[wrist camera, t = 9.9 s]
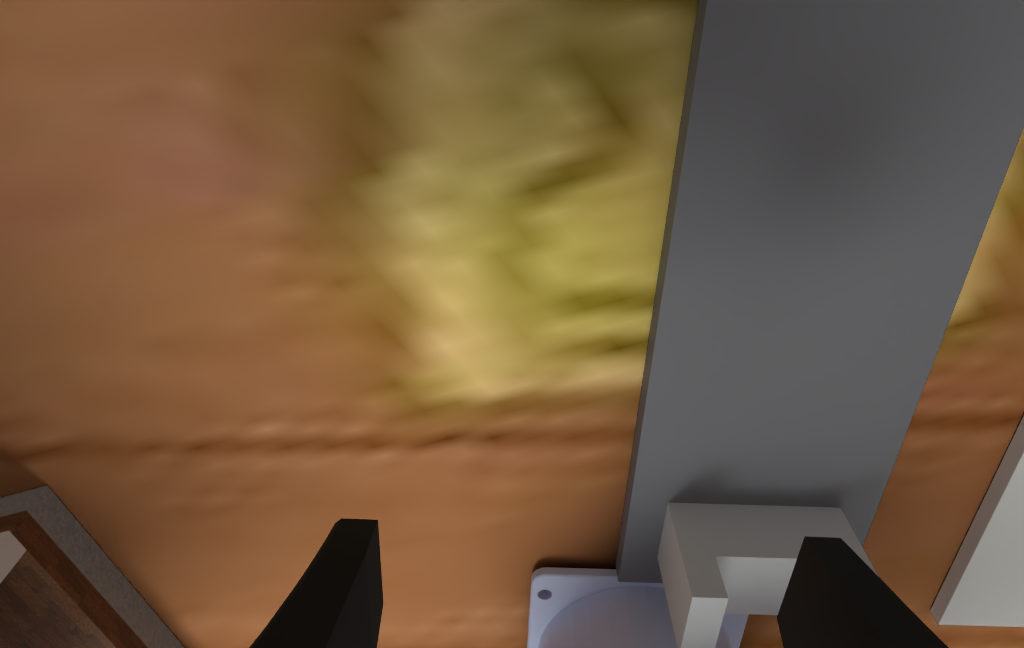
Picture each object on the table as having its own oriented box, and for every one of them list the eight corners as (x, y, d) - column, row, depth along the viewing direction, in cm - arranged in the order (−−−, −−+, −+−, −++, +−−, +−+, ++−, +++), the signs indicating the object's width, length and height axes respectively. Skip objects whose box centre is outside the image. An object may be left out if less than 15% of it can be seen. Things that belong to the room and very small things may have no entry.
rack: (837, 570, 25) (895, 687, 21) (615, 564, 25) (633, 680, 21) (1159, -301, 14) (1417, -394, 10) (745, -318, 14) (838, -418, 10)
